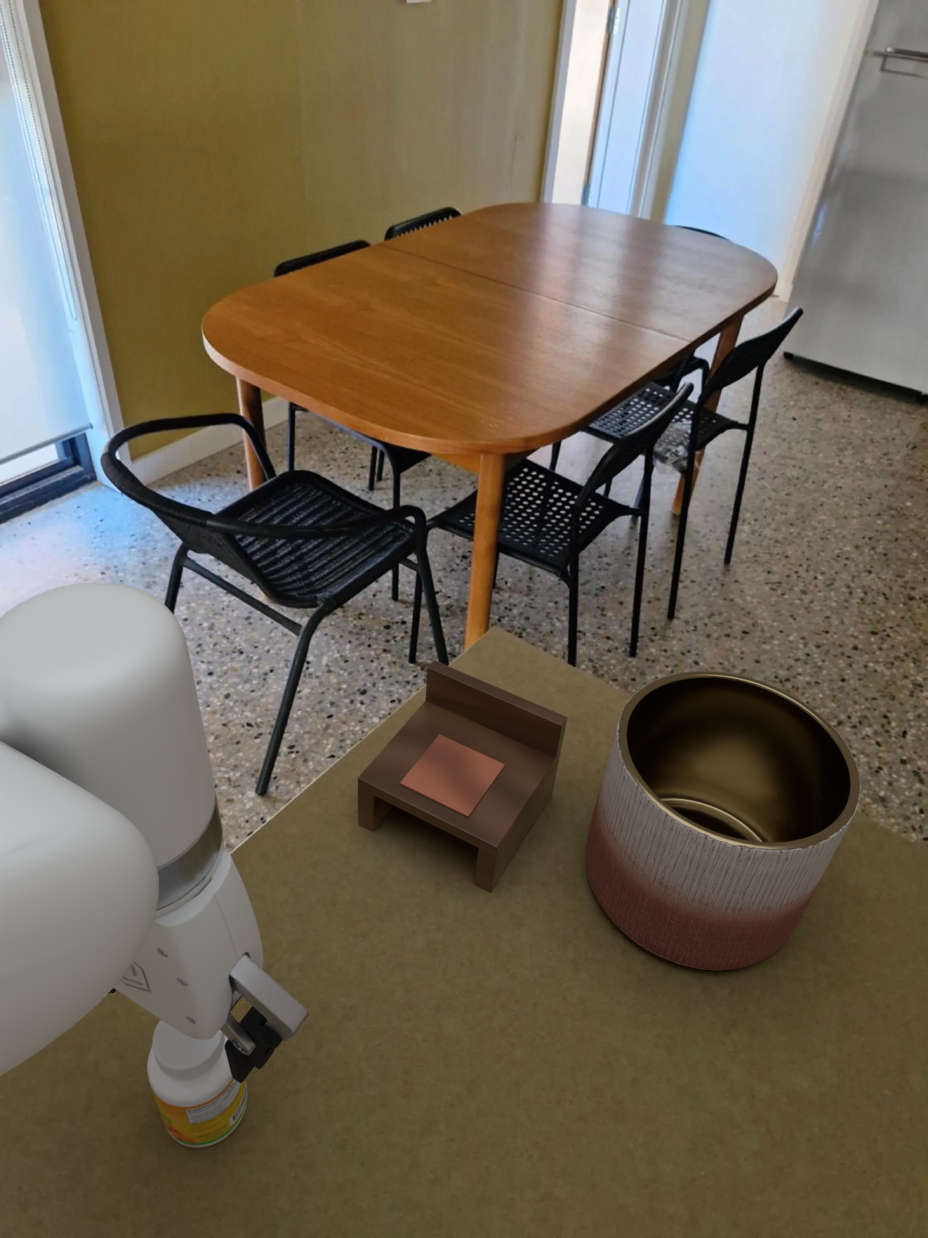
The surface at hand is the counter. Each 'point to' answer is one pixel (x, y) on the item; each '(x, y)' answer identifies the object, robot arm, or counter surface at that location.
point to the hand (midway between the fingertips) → (188, 1013)
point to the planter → (717, 817)
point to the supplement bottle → (194, 1087)
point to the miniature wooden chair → (468, 767)
